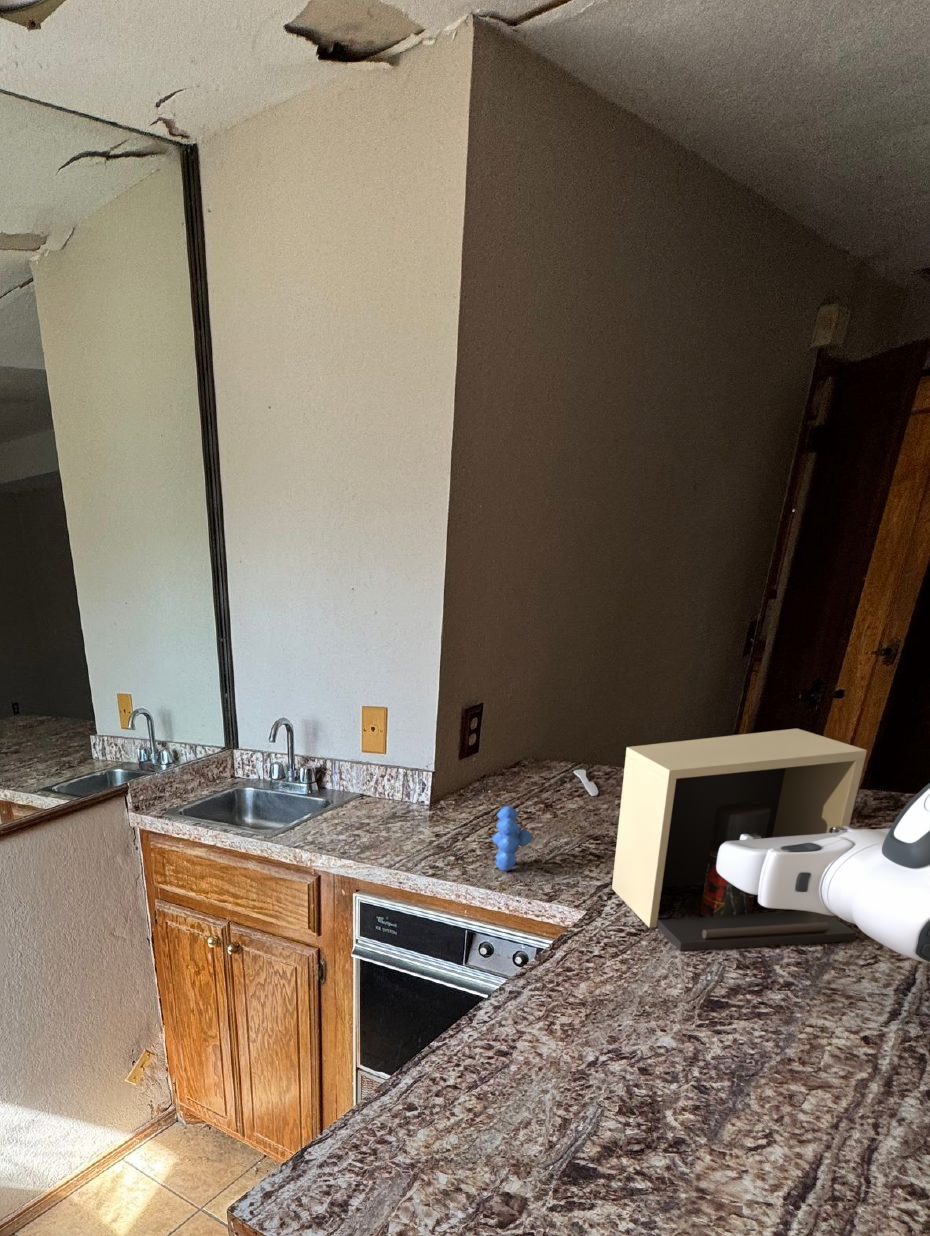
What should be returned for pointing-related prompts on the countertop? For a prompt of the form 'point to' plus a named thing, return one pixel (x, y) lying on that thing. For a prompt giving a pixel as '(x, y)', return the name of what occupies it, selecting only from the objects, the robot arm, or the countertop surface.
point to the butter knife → (587, 782)
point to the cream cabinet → (685, 814)
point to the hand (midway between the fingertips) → (790, 836)
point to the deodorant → (727, 827)
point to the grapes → (509, 838)
